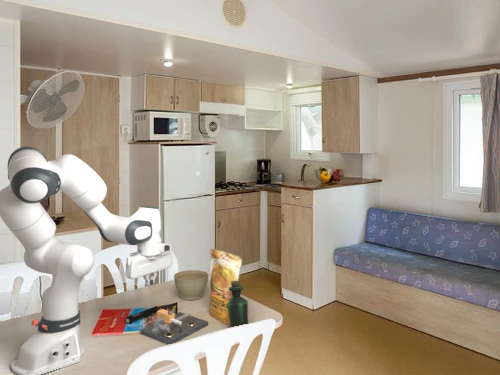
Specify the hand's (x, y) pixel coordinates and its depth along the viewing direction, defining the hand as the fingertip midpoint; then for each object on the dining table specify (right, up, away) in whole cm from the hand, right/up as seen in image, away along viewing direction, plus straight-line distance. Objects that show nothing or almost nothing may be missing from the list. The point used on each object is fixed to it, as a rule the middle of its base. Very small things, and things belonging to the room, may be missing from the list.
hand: (150, 284), depth 156 cm
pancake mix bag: (+27, -18, +16) cm, 36 cm away
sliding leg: (+7, -17, +5) cm, 19 cm away
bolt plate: (+9, -19, +5) cm, 21 cm away
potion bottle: (+34, -18, +3) cm, 38 cm away
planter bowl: (+10, -16, +40) cm, 44 cm away
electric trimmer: (-7, -18, +16) cm, 25 cm away
